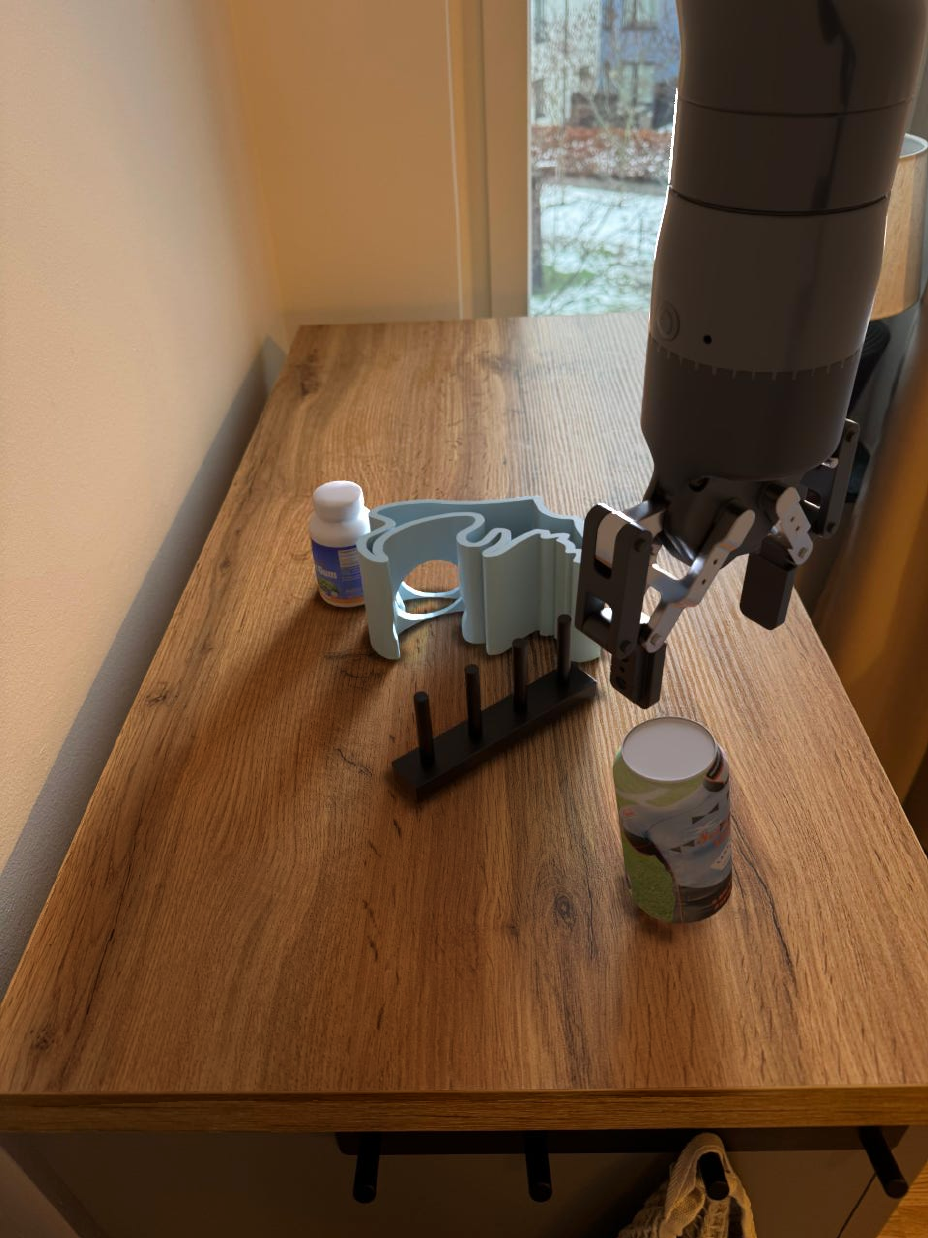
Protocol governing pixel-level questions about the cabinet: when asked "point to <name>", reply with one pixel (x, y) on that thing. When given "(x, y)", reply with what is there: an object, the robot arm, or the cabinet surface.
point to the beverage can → (674, 819)
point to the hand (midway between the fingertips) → (701, 656)
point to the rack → (492, 718)
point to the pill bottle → (338, 541)
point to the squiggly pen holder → (475, 569)
